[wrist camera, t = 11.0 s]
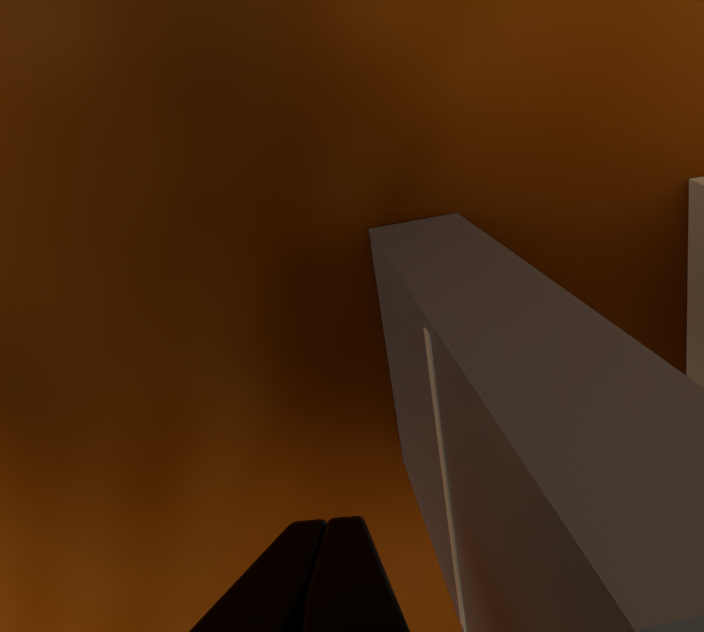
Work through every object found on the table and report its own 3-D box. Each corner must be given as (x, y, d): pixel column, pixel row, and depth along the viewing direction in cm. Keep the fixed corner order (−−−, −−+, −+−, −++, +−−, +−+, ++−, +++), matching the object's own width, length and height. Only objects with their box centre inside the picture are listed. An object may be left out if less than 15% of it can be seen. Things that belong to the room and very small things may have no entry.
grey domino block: (458, 212, 12) (949, 560, 3) (481, 445, 13) (845, 1070, 5) (366, 229, 12) (629, 631, 3) (401, 461, 13) (633, 1127, 5)
